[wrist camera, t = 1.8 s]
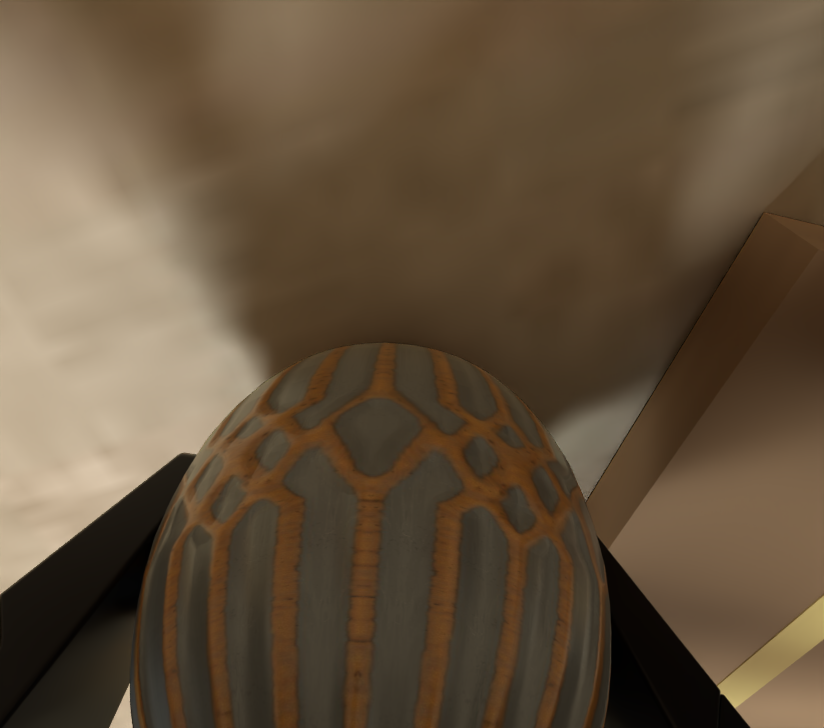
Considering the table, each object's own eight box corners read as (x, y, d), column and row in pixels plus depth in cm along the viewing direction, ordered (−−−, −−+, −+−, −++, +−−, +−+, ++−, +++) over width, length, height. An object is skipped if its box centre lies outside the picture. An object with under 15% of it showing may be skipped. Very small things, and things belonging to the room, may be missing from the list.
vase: (581, 284, 10) (1029, 1160, 2) (531, 530, 14) (648, 1138, 6) (196, 281, 10) (-436, 1105, 3) (259, 526, 14) (78, 1116, 7)
